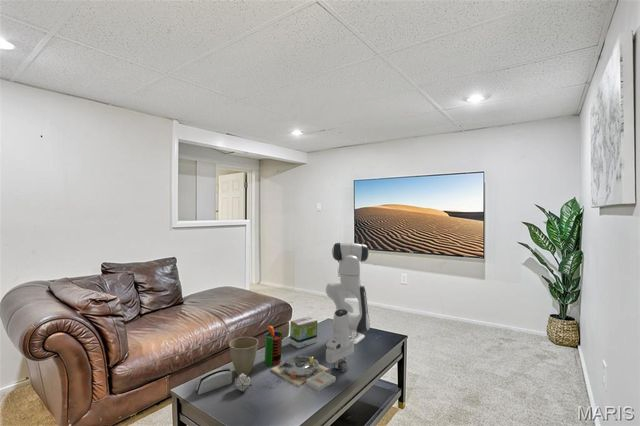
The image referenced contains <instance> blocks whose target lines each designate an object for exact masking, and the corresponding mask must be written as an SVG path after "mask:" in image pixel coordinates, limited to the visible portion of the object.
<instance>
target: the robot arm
mask: <svg viewBox="0 0 640 426" xmlns="http://www.w3.org/2000/svg"><path fill="white" fill-rule="evenodd" d="M331 254H332V258H333V259H334V261H335V260H336V261H337V262H338V276H339V277H340V279H339V280H340V281H338V280H337V281H331V282H328V283H327V285H326V286H325V294H326V296H327V297H328V298H329V299H331V301H333V303H334V305H335V309H336V310H335V311H334V313H333V319H332V329H333V333H332V337H331V338H330V339H328V341H327V342H326V343H325V347H327V348H326V351H325V361H326V362H327V363H328V364H330V365H333V364H334V363H335V367H336V368H339V364H338V360H340V359H342V360H344V361H346V362H347V359H348V356H350V355H351V354H353V353H354V351H355V345H357V344H358V343H359V342H361V341H363V339H364V338H365V337H366V336H365V334H366V333H367V332H369V330H370V328H371V322H370V321H371V320H370V315H369V308H368V298H367V292H366V288H365V285H364V284H363V282H361V268H360V267H361V265H360V263H361V262H365V261H367V260H368V257H369V254H370V250H369V248H368V246H367V245H366V244H364V243H357V242H336V243H334V244H333V246H332V249H331ZM345 299H357V301H358V310H359V312H358V313H354V307H353V305H352V304H350V303H349V302H346V300H345ZM336 368H335V369H336Z"/></svg>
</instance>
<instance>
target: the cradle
mask: <svg viewBox="0 0 640 426" xmlns="http://www.w3.org/2000/svg"><path fill="white" fill-rule="evenodd" d="M336 379H337V378H336V376H334V374H330V373H329V372H328V371H327V372H325V371H322V372H321V373H319V374H317V375H315V376H313V377H311V378H309V379H307V380H306V383H305V384H306V386H308V387H310V388H311V389H313V390H315V391H317V392H320V391H323V389H325V388H328V387H329V386H330V385H332V384H334V383H336Z"/></svg>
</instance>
